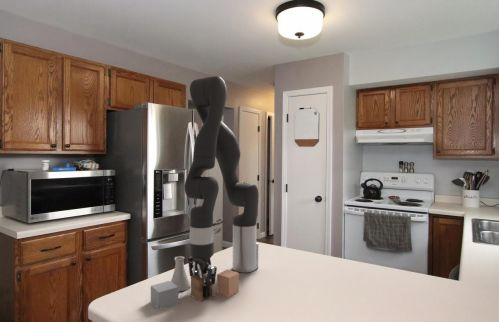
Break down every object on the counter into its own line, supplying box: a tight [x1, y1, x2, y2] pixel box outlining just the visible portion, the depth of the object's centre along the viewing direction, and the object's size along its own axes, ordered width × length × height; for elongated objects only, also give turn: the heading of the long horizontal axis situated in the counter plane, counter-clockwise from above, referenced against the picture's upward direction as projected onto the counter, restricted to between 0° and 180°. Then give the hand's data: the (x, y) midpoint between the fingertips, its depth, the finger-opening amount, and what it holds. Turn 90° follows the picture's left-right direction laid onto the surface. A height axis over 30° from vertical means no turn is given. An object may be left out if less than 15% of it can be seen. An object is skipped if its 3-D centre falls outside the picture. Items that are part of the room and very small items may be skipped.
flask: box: [170, 255, 191, 292], centre depth 103 cm, size 7×7×10 cm
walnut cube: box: [190, 273, 214, 302], centre depth 97 cm, size 5×5×6 cm
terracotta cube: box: [216, 269, 240, 298], centre depth 100 cm, size 5×5×6 cm
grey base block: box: [150, 280, 179, 310], centre depth 93 cm, size 6×6×5 cm
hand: (201, 294), depth 97 cm, fingers closed on walnut cube, 5 cm apart
